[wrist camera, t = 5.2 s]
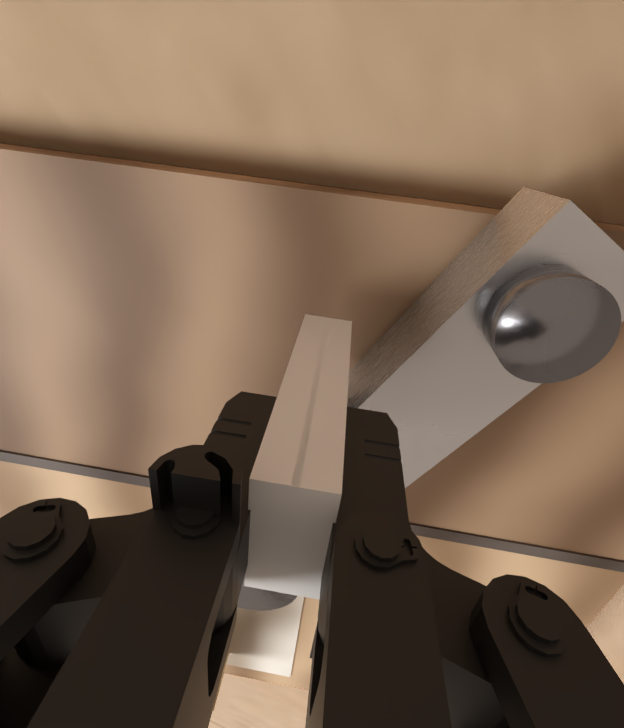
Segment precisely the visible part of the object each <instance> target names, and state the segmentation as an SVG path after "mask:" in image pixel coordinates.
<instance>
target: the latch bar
mask: <svg viewBox="0 0 624 728" xmlns="http://www.w3.org/2000/svg"><path fill="white" fill-rule="evenodd" d="M623 321H624V251H623V250H622V249H621V248H620V247H619V246H618V245H617V244H616V243H615V242H614V241H613V240H612V239H611V238H610V237H609V236H608V235H607V234H606V233H605V232H603V231H602V230H601V229H600V228H599V227H598V226H597V225H596V224H595V223H594V222H593V221H592V220H591V219H590V218H589V217H588V216H587V215H586V214H585V213H583V212H582V211H581V210H580V209H579V208H578V207H577V206H576V205H575V204H574V203H573V202H572V201H571V200H568V199H565V198H561V197H558V196H554V195H551V194H547V193H544V192H540V191H537V190H533V189H530V188H526V187H522V188H521V189H520V191H519V192H518V193H517V194H516V195H515V196H514V197H513V198H512V199H511V200H510V201H509V202H508V203H507V204H506V205H505V206H504V208H503V209H502V210H501V211H500V212H499V213H498V214H497V215H496V216H495V217H494V218H493V219H492V220H491V221H490V222H489V223H488V225H487V226H486V227H485V228H484V229H483V230H482V231H481V232H480V233H479V234H478V235H477V236H476V237H475V238H474V239H473V241H472V242H471V243H470V244H469V245H468V246H467V247H466V248H465V249H464V250H463V251H462V252H461V253H460V254H459V255H458V256H457V258H456V259H455V260H454V261H453V262H452V263H451V264H450V265H449V266H448V267H447V268H446V269H445V270H444V271H443V272H442V273H441V275H440V276H439V277H438V278H437V279H436V280H435V281H434V282H433V283H432V284H431V285H430V286H429V287H428V288H427V289H426V290H425V292H424V293H423V294H422V295H421V296H420V297H419V298H418V299H417V300H416V301H415V302H414V303H413V304H412V305H411V306H410V307H409V309H408V310H407V311H406V312H405V313H404V314H403V315H402V316H401V317H400V318H399V319H398V320H397V321H396V322H395V323H394V324H393V326H392V327H391V328H390V329H389V330H388V331H387V332H386V333H385V334H384V335H383V336H382V337H381V338H380V339H379V340H378V341H377V343H376V344H375V345H374V346H373V347H372V348H371V349H370V350H369V351H368V352H367V353H366V354H365V355H364V356H363V357H362V358H361V360H360V361H359V362H358V363H357V364H356V365H355V366H354V367H353V368H352V369H351V370H350V371H349V381H348V398H347V407H353V408H359V409H365V410H372V411H378V412H384V413H387V414H388V415H389V417H390V418H391V420H392V421H393V423H394V424H395V426H396V427H397V428H398V436H399V445H400V446H399V448H400V453H401V463H402V469H403V477H404V485H405V488H406V487H407V486H409V485H410V484H411V483H413V482H414V481H415V480H417V479H418V478H419V477H420V476H422V475H423V474H424V473H426V472H427V471H428V470H430V469H431V468H432V467H434V466H435V465H436V464H437V463H439V462H440V461H441V460H443V459H444V458H445V457H447V456H448V455H449V454H450V453H452V452H453V451H454V450H456V449H457V448H458V447H460V446H461V445H462V444H464V443H465V442H466V441H467V440H469V439H470V438H471V437H473V436H474V435H475V434H477V433H478V432H479V431H481V430H482V429H483V428H484V427H486V426H487V425H488V424H490V423H491V422H492V421H494V420H495V419H496V418H497V417H499V416H500V415H501V414H503V413H504V412H505V411H507V410H508V409H509V408H511V407H512V406H513V405H514V404H516V403H517V402H518V401H520V400H521V399H522V398H524V397H525V396H526V395H528V394H529V393H530V392H531V391H533V390H534V389H535V388H537V387H538V386H539V385H541V384H542V383H556V382H561V381H565V380H568V379H571V378H574V377H576V376H579V375H581V374H583V373H585V372H586V371H588V370H589V369H591V368H592V367H594V366H595V365H596V364H598V363H599V362H600V361H601V360H602V359H603V358H604V357H605V356H606V355H607V354H608V352H609V351H610V350H611V348H612V347H613V345H614V344H615V342H616V339H617V337H618V335H619V331H620V327H621V322H623ZM244 581H245V577H244V580H243V584H242V588H241V591H240V595H239V599H238V606H237V607H238V608H243V609H248V610H256V611H267V610H274V609H279V608H282V607H284V606H287V605H288V604H290V603H291V602H293V601H294V600H295V599H296V597H297V596H296V595H290V594H285V593H279V592H275V591H269V590H264V589H258V588H253V587H247V586H244Z"/></svg>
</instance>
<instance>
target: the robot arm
mask: <svg viewBox="0 0 624 728" xmlns="http://www.w3.org/2000/svg"><path fill="white" fill-rule="evenodd" d="M351 330H352V321H347V320H341V319H334V318H328V317H321V316H314V315H308V314H305V316H304V319H303V322H302V325H301V328H300V331H299V334H298V337H297V340H296V343H295V346H294V349H293V352H292V355H291V358H290V361H289V364H288V366H287V369H286V372H285V375H284V378H283V381H282V384H281V387H280V390H279V393H278V396H277V397H274V396H268V395H262V394H256V393H249V392H243V391H241V392H240V393H238V394H237V395H235V396H234V397H233V398H231V399H230V400H229V401H227V402H226V403H225V405H224V407H223V409H222V411H221V413H220V415H219V416H218V420H216V422H215V424H214V426H213V428H212V430H211V433H209V435H208V437H207V439H206V441H205V443H204V445H189V446H185V447H180V448H176V449H174V450H172V451H170V452H168V453H166V454H164V455H162V456H160V457H159V458H158V459H157V460H156V461H155V462H154V463H153V464H152V465H151V466H150V467H149V468H148V474H149V481H150V489H151V497H152V505H153V508H151V509H149V510H146V511H144V512H139V513H134V514H129V515H121V516H112V517H103V518H93V519H89V517H88V513H87V510H86V509H85V508H84V507H83V506H81V505H80V504H79V503H78V502H76V501H73V500H68V499H64V498H51V499H40V500H37V501H34V502H31V503H28V504H25V505H22V506H19V507H18V508H16V509H14V510H13V511H11V512H9V513H8V514H6V515H4V516H3V517H1V518H0V728H208V725H209V721H210V718H211V714H212V710H213V706H214V703H215V699H216V695H217V691H218V688H219V684H220V680H221V677H222V673H223V669H224V665H225V662H226V658H227V654H228V650H229V647H230V643H231V639H232V635H233V632H234V628H235V624H236V619H237V606H238V599H239V595H240V591H241V588H242V584H243V580H244V577H245V581H244V586H247V587H253V588H258V589H264V590H269V591H275V592H279V593H285V594H290V595H296V596H302V597H307V598H313V599H318V600H319V609H318V621H317V626H316V630H315V635H314V639H313V644H312V649H311V653H310V658H312V665H311V676H310V686H309V696H308V707H307V717H306V727H305V728H624V684H623V682H622V681H621V680H620V678H619V677H618V675H617V674H616V672H615V671H614V669H613V668H612V666H611V665H610V663H609V662H608V660H607V659H606V657H605V656H604V654H603V653H602V651H601V650H600V648H599V647H598V645H597V644H596V642H595V641H594V639H593V638H592V636H591V635H590V633H589V632H588V630H587V629H586V627H585V626H584V624H583V623H582V621H581V620H580V619H579V617H578V616H577V615H576V614H575V613H574V612H573V610H572V609H571V608H570V607H569V606H568V604H567V603H566V602H565V601H564V600H563V599H562V598H560V597H559V596H558V595H556V594H555V593H554V592H553V591H551V590H550V589H549V588H547V587H546V586H545V585H542V584H540V583H538V582H536V581H534V580H531V579H529V578H527V577H524V576H517V575H509V574H506V575H503V576H500V577H496V578H493V579H492V580H491V581H490V583H489V584H488V585H487V586H485V585H483V584H481V583H479V582H477V581H475V580H473V579H470V578H468V577H466V576H464V575H462V574H460V573H458V572H456V571H454V570H452V569H450V568H448V567H446V566H445V565H443V564H441V563H440V562H438V561H437V560H436V559H434V558H433V557H432V556H431V555H430V554H428V553H427V552H426V551H425V549H424V548H423V547H422V545H421V542H420V540H419V539H418V537H417V536H416V535H415V534H414V532H413V531H412V530H411V526H410V522H409V518H408V510H407V501H406V493H405V485H404V477H403V469H402V463H401V453H400V448H399V446H400V445H399V436H398V428H397V427H396V426H395V424H394V423H393V421H392V420H391V418H390V417H389V415H388V414H387V413H384V412H378V411H372V410H365V409H359V408H353V407H347V398H348V381H349V364H350V347H351Z"/></svg>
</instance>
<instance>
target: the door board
mask: <svg viewBox="0 0 624 728" xmlns="http://www.w3.org/2000/svg"><path fill="white" fill-rule="evenodd" d="M501 210H502V209H494V208H487V207H479V206H472V205H464V204H456V203H449V202H441V201H434V200H426V199H419V198H411V197H404V196H396V195H388V194H381V193H373V192H366V191H358V190H351V189H343V188H336V187H328V186H321V185H313V184H305V183H298V182H290V181H283V180H275V179H268V178H260V177H253V176H245V175H237V174H230V173H222V172H215V171H207V170H200V169H192V168H185V167H177V166H170V165H162V164H154V163H147V162H139V161H132V160H124V159H117V158H109V157H102V156H94V155H86V154H79V153H71V152H64V151H56V150H49V149H41V148H34V147H26V146H19V145H11V144H3V143H0V518H1V517H3V516H4V515H6V514H8V513H9V512H11V511H13V510H14V509H16V508H18V507H19V506H22V505H25V504H28V503H31V502H34V501H37V500H40V499H51V498H64V499H68V500H73V501H76V502H78V503H79V504H80V505H81V506H83V507H84V508H85V509H86V510H87V513H88V517H89V519H93V518H103V517H112V516H121V515H129V514H134V513H139V512H144V511H146V510H149V509H151V508H153V505H152V497H151V489H150V481H149V474H148V468H149V467H150V466H151V465H152V464H153V463H154V462H155V461H156V460H157V459H158V458H159V457H160V456H162V455H164V454H166V453H168V452H170V451H172V450H174V449H176V448H180V447H185V446H189V445H204V443H205V441H206V439H207V437H208V435H209V433H211V430H212V428H213V426H214V424H215V422H216V420H218V416H219V415H220V413H221V411H222V409H223V407H224V405H225V403H226V402H227V401H229V400H230V399H231V398H233V397H234V396H235V395H237V394H238V393H240V392H241V391H243V392H249V393H256V394H262V395H268V396H274V397H277V396H278V393H279V390H280V387H281V384H282V381H283V378H284V375H285V372H286V369H287V366H288V364H289V361H290V358H291V355H292V352H293V349H294V346H295V343H296V340H297V337H298V334H299V331H300V328H301V325H302V322H303V319H304V316H305V314H308V315H314V316H321V317H328V318H334V319H341V320H347V321H352V330H351V347H350V364H349V371H350V370H351V369H352V368H353V367H354V366H355V365H356V364H357V363H358V362H359V361H360V360H361V358H362V357H363V356H364V355H365V354H366V353H367V352H368V351H369V350H370V349H371V348H372V347H373V346H374V345H375V344H376V343H377V341H378V340H379V339H380V338H381V337H382V336H383V335H384V334H385V333H386V332H387V331H388V330H389V329H390V328H391V327H392V326H393V324H394V323H395V322H396V321H397V320H398V319H399V318H400V317H401V316H402V315H403V314H404V313H405V312H406V311H407V310H408V309H409V307H410V306H411V305H412V304H413V303H414V302H415V301H416V300H417V299H418V298H419V297H420V296H421V295H422V294H423V293H424V292H425V290H426V289H427V288H428V287H429V286H430V285H431V284H432V283H433V282H434V281H435V280H436V279H437V278H438V277H439V276H440V275H441V273H442V272H443V271H444V270H445V269H446V268H447V267H448V266H449V265H450V264H451V263H452V262H453V261H454V260H455V259H456V258H457V256H458V255H459V254H460V253H461V252H462V251H463V250H464V249H465V248H466V247H467V246H468V245H469V244H470V243H471V242H472V241H473V239H474V238H475V237H476V236H477V235H478V234H479V233H480V232H481V231H482V230H483V229H484V228H485V227H486V226H487V225H488V223H489V222H490V221H491V220H492V219H493V218H494V217H495V216H496V215H497V214H498V213H499V212H500V211H501ZM594 223H595V224H596V225H597V226H598V227H599V228H600V229H601V230H602V231H603V232H605V233H606V234H607V235H608V236H609V237H610V238H611V239H612V240H613V241H614V242H615V243H616V244H617V245H618V246H619V247H620V248H621V249H622V250H623V251H624V226H623V225H615V224H607V223H600V222H594ZM405 493H406V501H407V510H408V518H409V522H410V526H411V530H412V531H413V532H414V534H415V535H416V536H417V537H418V539H419V540H420V542H421V545H422V547H423V548H424V549H425V551H426V552H427V553H428V554H430V555H431V556H432V557H433V558H434V559H436V560H437V561H438V562H440V563H441V564H443V565H445V566H446V567H448V568H450V569H452V570H454V571H456V572H458V573H460V574H462V575H464V576H466V577H468V578H470V579H473V580H475V581H477V582H479V583H481V584H483V585H485V586H487V585H488V584H489V583H490V581H491V580H492V579H493V578H496V577H500V576H503V575H506V574H509V575H517V576H524V577H527V578H529V579H531V580H534V581H536V582H538V583H540V584H542V585H545V586H546V587H547V588H549V589H550V590H551V591H553V592H554V593H555V594H556V595H558V596H559V597H560V598H562V599H563V600H564V601H565V602H566V603H567V604H568V606H569V607H570V608H571V609H572V610H573V612H574V613H575V614H576V615H577V616H578V617H579V619H580V620H581V621H582V623H583V624H584V626H585V627H587V626H588V625H589V624H590V622H591V621H592V620H593V619H594V618H595V617H596V615H597V614H598V613H599V612H600V611H601V610H602V608H603V607H604V606H605V605H606V604H607V603H608V601H609V600H610V599H611V598H612V597H613V595H614V594H615V593H616V592H617V591H618V590H619V588H620V587H621V586H622V585H623V584H624V321H623V322H621V327H620V331H619V335H618V337H617V339H616V342H615V344H614V345H613V347H612V348H611V350H610V351H609V352H608V354H607V355H606V356H605V357H604V358H603V359H602V360H601V361H600V362H599V363H598V364H596V365H595V366H594V367H592V368H591V369H589V370H588V371H586V372H585V373H583V374H581V375H579V376H576V377H574V378H571V379H568V380H565V381H561V382H556V383H542V384H541V385H539V386H538V387H537V388H535V389H534V390H533V391H531V392H530V393H529V394H528V395H526V396H525V397H524V398H522V399H521V400H520V401H518V402H517V403H516V404H514V405H513V406H512V407H511V408H509V409H508V410H507V411H505V412H504V413H503V414H501V415H500V416H499V417H497V418H496V419H495V420H494V421H492V422H491V423H490V424H488V425H487V426H486V427H484V428H483V429H482V430H481V431H479V432H478V433H477V434H475V435H474V436H473V437H471V438H470V439H469V440H467V441H466V442H465V443H464V444H462V445H461V446H460V447H458V448H457V449H456V450H454V451H453V452H452V453H450V454H449V455H448V456H447V457H445V458H444V459H443V460H441V461H440V462H439V463H437V464H436V465H435V466H434V467H432V468H431V469H430V470H428V471H427V472H426V473H424V474H423V475H422V476H420V477H419V478H418V479H417V480H415V481H414V482H413V483H411V484H410V485H409V486H407V487H406V488H405ZM318 609H319V600H318V599H313V598H307V597H302V596H297V597H296V599H295V600H294V601H293V602H291V603H290V604H288V605H287V606H284V607H282V608H279V609H274V610H267V611H256V610H248V609H243V608H238V607H237V619H236V624H235V628H234V632H233V635H232V639H231V643H230V647H229V650H228V654H227V658H226V662H225V665H224V669H223V673H222V677H223V674H224V673H227V674H231V675H236V676H241V677H246V678H251V679H256V680H261V681H266V682H271V683H276V684H281V685H285V686H290V687H295V688H300V689H305V690H309V686H310V676H311V665H312V658H310V653H311V649H312V644H313V639H314V635H315V630H316V626H317V621H318ZM222 677H221V680H220V684H219V688H220V685H221V681H222ZM219 688H218V691H217V695H216V699H217V696H218V692H219ZM216 699H215V703H216ZM215 703H214V706H213V710H214V707H215ZM213 710H212V711H213Z"/></svg>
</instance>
